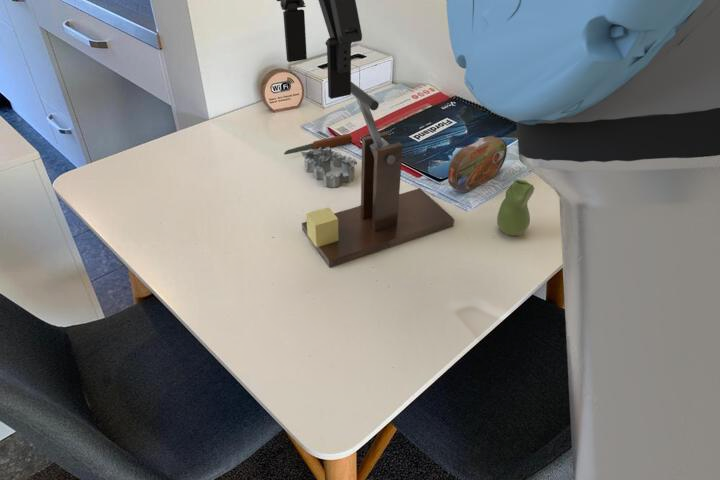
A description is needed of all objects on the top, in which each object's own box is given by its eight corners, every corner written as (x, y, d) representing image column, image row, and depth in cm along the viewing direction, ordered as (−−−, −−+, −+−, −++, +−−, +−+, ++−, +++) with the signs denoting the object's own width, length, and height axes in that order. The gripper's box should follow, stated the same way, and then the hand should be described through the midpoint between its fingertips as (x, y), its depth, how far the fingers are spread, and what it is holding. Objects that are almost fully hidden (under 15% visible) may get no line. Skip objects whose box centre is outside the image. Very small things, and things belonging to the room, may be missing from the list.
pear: (503, 218, 93) (514, 170, 87) (531, 229, 91) (545, 180, 84) (489, 233, 90) (499, 184, 83) (518, 245, 87) (530, 196, 81)
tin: (455, 199, 98) (461, 159, 93) (442, 191, 100) (447, 152, 94) (504, 171, 106) (512, 134, 100) (491, 165, 107) (498, 128, 102)
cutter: (365, 106, 70) (380, 97, 70) (336, 82, 76) (349, 74, 76) (392, 175, 79) (405, 167, 79) (364, 149, 85) (376, 141, 85)
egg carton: (359, 180, 103) (360, 162, 100) (326, 191, 99) (326, 173, 97) (331, 157, 109) (331, 139, 107) (299, 166, 106) (298, 149, 104)
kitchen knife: (349, 140, 115) (349, 132, 114) (352, 143, 114) (352, 134, 113) (282, 156, 109) (282, 147, 108) (285, 159, 108) (284, 150, 107)
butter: (316, 247, 84) (315, 225, 81) (307, 235, 86) (305, 213, 83) (338, 240, 85) (338, 218, 82) (329, 228, 88) (328, 206, 85)
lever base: (329, 267, 82) (326, 176, 72) (302, 229, 90) (295, 142, 79) (453, 226, 91) (467, 139, 81) (419, 194, 99) (427, 111, 88)
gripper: (400, -109, 48) (389, 107, 61) (296, -129, 65) (305, 43, 79) (326, -105, 45) (331, 120, 59) (238, -127, 62) (257, 51, 76)
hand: (316, 76), depth 69 cm, fingers open, 13 cm apart
